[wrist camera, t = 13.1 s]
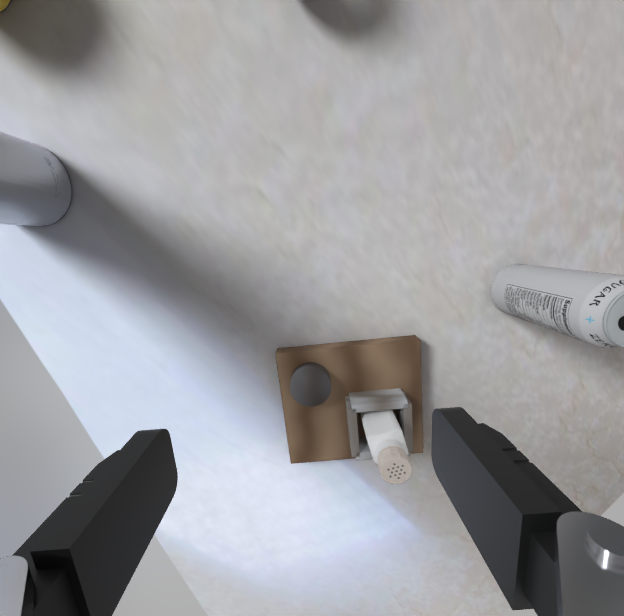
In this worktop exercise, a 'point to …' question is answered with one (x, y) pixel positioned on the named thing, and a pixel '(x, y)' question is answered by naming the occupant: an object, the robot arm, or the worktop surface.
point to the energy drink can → (564, 301)
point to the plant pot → (4, 4)
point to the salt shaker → (387, 445)
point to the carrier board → (348, 395)
